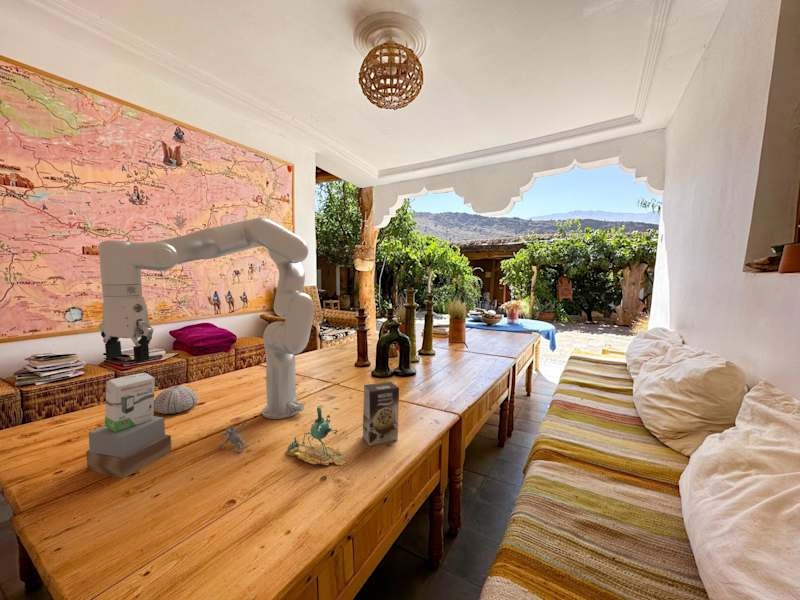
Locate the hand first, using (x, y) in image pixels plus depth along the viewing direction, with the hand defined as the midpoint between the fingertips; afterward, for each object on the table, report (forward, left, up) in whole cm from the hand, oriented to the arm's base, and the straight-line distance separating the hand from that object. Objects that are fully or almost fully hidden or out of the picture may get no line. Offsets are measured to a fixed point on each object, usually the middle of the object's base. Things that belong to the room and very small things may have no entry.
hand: (127, 359), depth 83 cm
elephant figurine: (-20, -13, -27) cm, 36 cm away
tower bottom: (0, +1, -27) cm, 27 cm away
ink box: (0, 0, -17) cm, 17 cm away
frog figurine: (-44, -17, -27) cm, 54 cm away
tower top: (0, +1, -22) cm, 22 cm away
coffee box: (-57, -31, -27) cm, 70 cm away
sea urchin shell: (+18, -27, -27) cm, 42 cm away
